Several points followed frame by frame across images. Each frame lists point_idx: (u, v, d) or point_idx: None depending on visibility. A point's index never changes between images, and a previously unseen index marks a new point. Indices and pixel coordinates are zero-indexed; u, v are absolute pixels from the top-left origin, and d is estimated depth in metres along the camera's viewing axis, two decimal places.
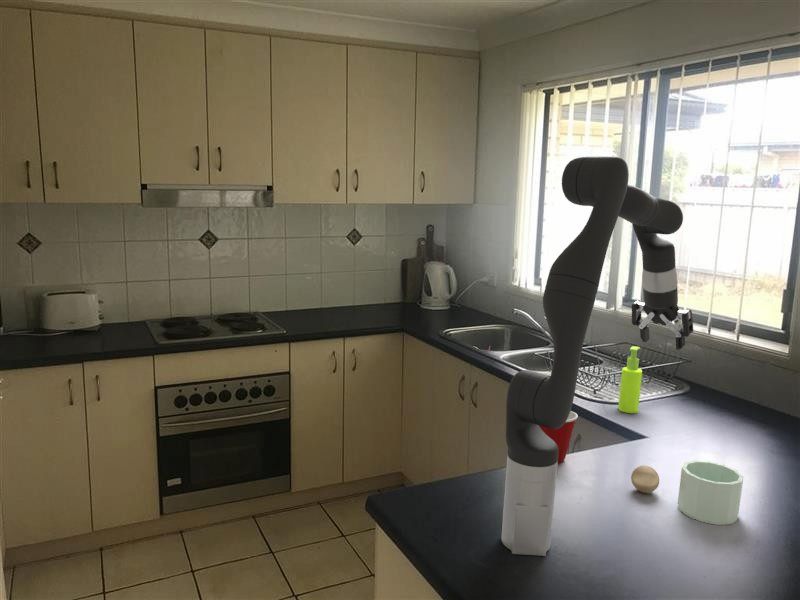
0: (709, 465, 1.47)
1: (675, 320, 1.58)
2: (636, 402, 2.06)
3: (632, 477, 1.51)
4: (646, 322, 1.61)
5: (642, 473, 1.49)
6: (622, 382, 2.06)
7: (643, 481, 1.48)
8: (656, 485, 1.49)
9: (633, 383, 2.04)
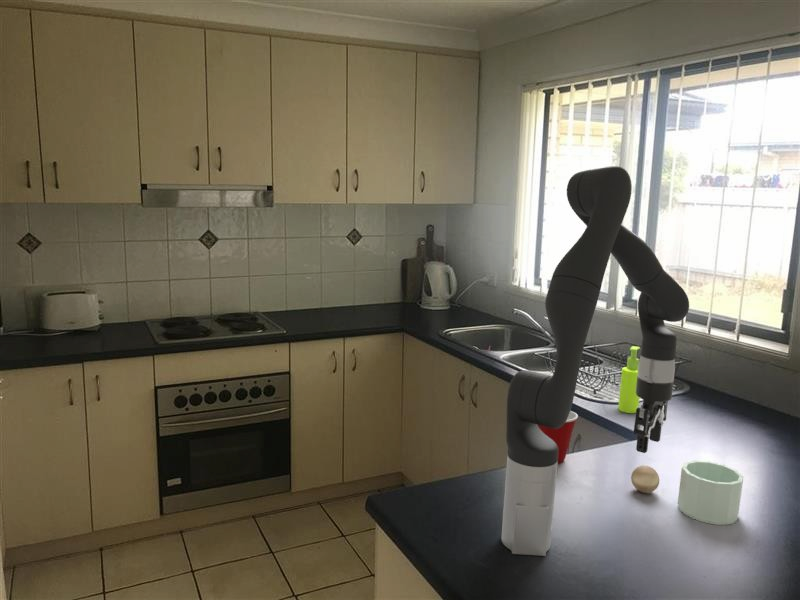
0: (709, 465, 1.47)
1: None
2: (636, 402, 2.06)
3: (632, 477, 1.51)
4: None
5: (642, 473, 1.49)
6: (622, 382, 2.06)
7: (643, 481, 1.48)
8: (656, 485, 1.49)
9: (633, 383, 2.04)
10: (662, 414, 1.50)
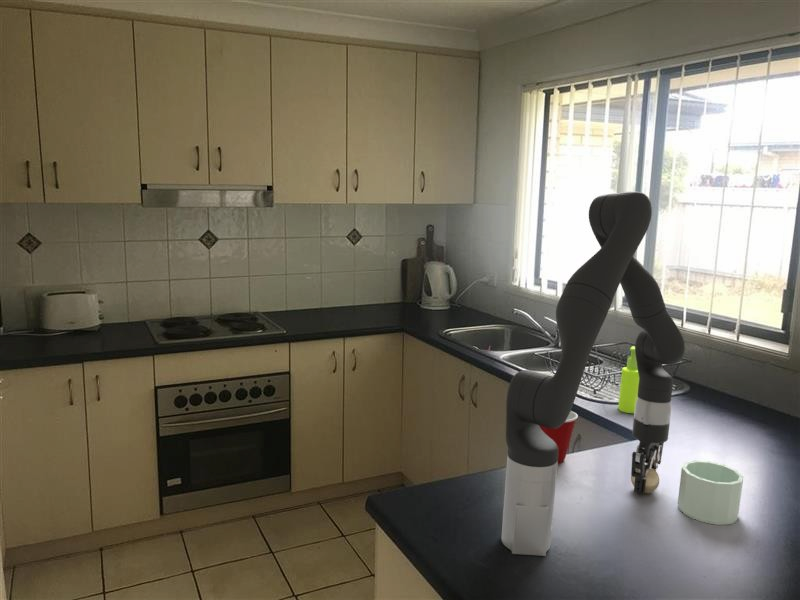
0: (709, 465, 1.47)
1: None
2: None
3: (632, 477, 1.51)
4: None
5: None
6: (622, 382, 2.06)
7: None
8: (656, 485, 1.49)
9: (633, 383, 2.04)
10: (658, 456, 1.51)
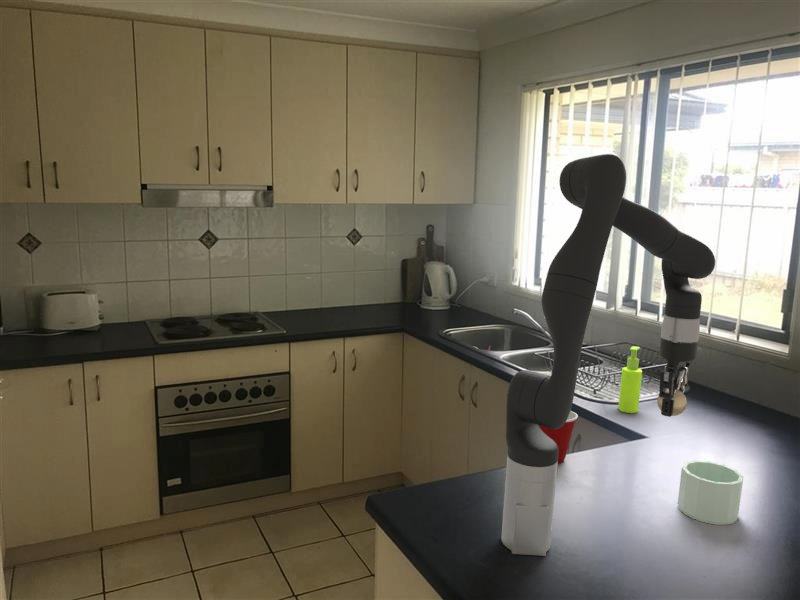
0: (709, 465, 1.47)
1: None
2: (636, 402, 2.06)
3: (658, 400, 1.46)
4: None
5: None
6: (622, 382, 2.06)
7: None
8: (684, 407, 1.44)
9: (633, 383, 2.04)
10: (685, 377, 1.45)
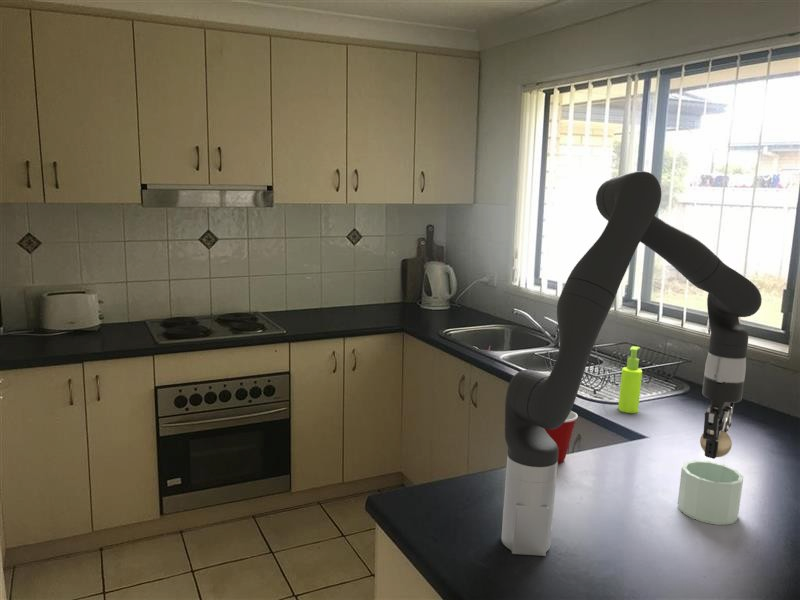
0: (709, 465, 1.47)
1: None
2: (636, 402, 2.06)
3: (702, 440, 1.41)
4: None
5: None
6: (622, 382, 2.06)
7: None
8: (729, 448, 1.38)
9: (633, 383, 2.04)
10: (729, 417, 1.40)
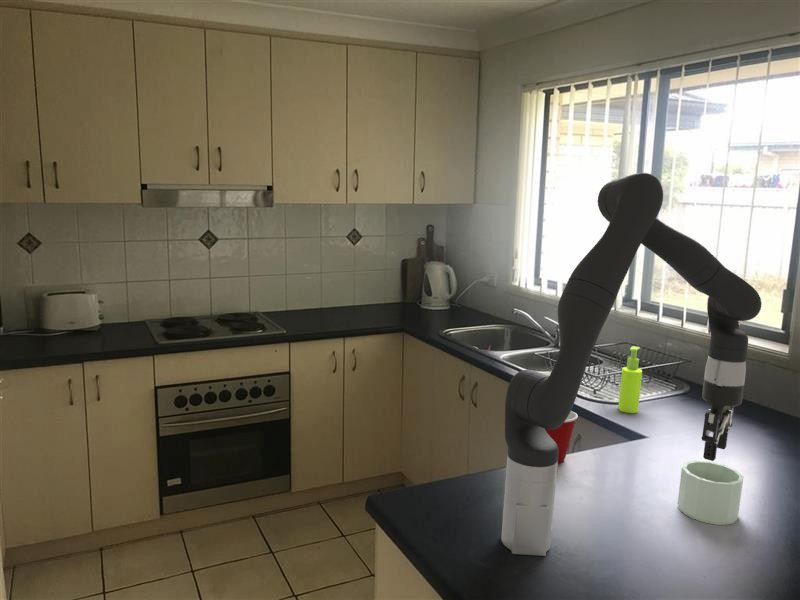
0: (709, 465, 1.47)
1: None
2: (636, 402, 2.06)
3: None
4: None
5: None
6: (622, 382, 2.06)
7: None
8: None
9: (633, 383, 2.04)
10: (730, 420, 1.41)
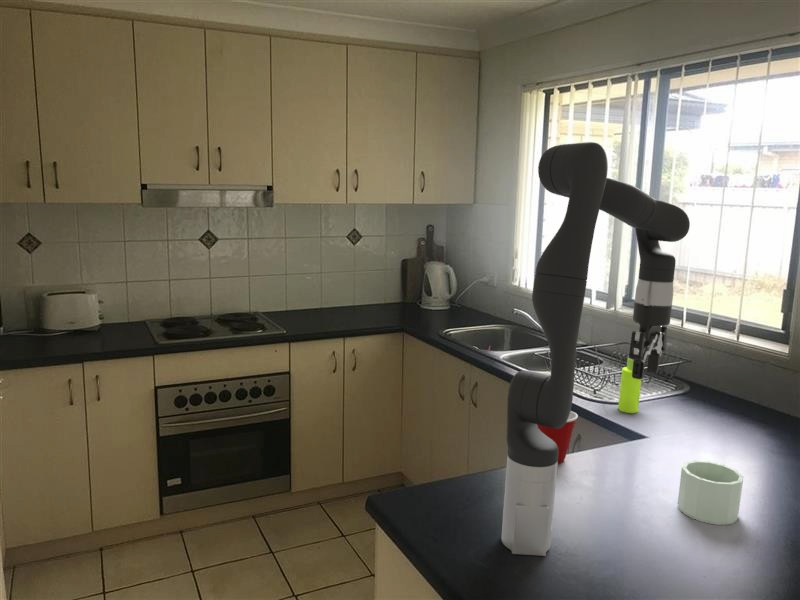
0: (709, 465, 1.47)
1: None
2: (636, 402, 2.06)
3: None
4: None
5: None
6: (622, 382, 2.06)
7: None
8: None
9: (633, 383, 2.04)
10: (660, 342, 1.45)
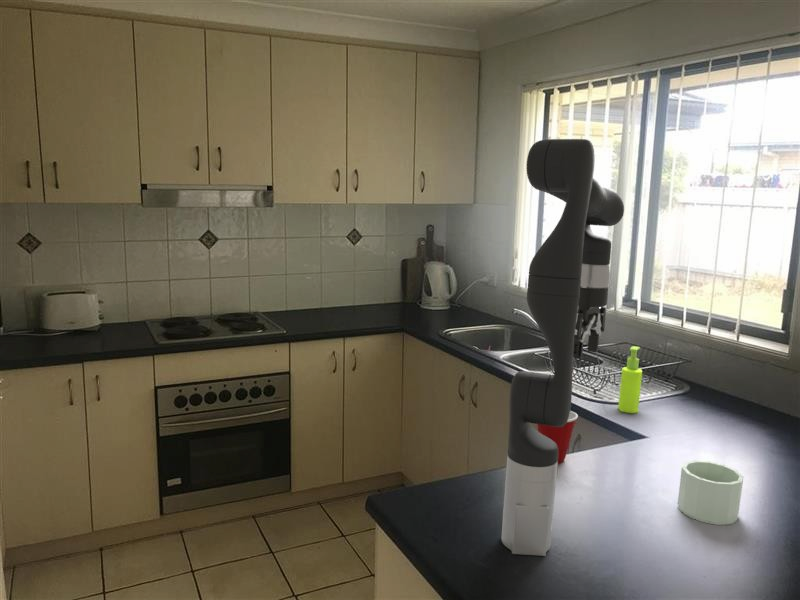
0: (709, 465, 1.47)
1: None
2: (636, 402, 2.06)
3: None
4: None
5: None
6: (622, 382, 2.06)
7: None
8: None
9: (633, 383, 2.04)
10: (598, 323, 1.51)
